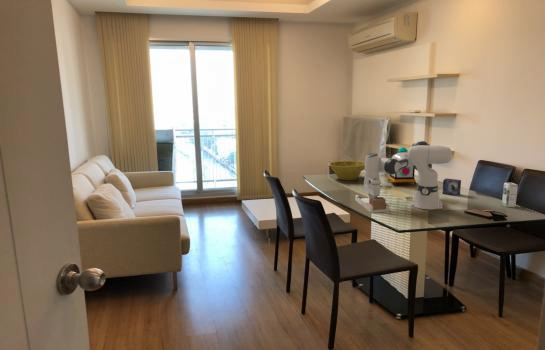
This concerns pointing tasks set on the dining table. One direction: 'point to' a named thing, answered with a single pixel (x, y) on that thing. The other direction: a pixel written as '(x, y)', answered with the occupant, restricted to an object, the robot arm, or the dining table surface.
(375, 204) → the walnut block
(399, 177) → the decorative lantern
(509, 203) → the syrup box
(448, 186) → the small box
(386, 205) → the grey chute
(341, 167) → the planter bowl
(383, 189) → the dining table surface
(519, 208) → the dining table surface
